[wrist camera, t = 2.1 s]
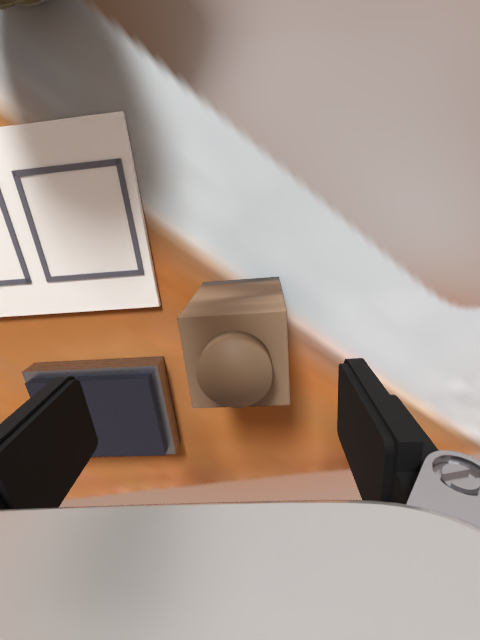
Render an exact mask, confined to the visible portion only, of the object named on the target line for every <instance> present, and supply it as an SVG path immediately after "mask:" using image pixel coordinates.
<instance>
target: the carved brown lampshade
mask: <svg viewBox="0 0 480 640" xmlns="http://www.w3.org/2000/svg"><path fill="white" fill-rule="evenodd" d="M45 1H46V0H0V9H5V8H9V7H12V6H14V5H17V4H19V5H26V6H33V5H38V4H41V3H43V2H45Z"/></svg>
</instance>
